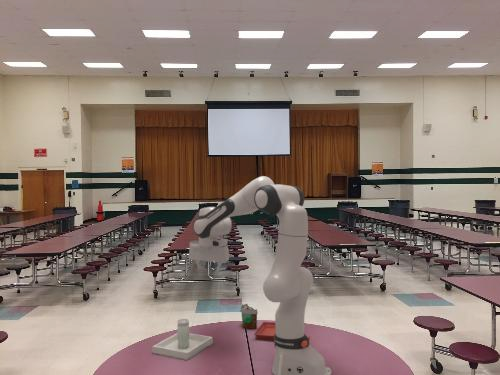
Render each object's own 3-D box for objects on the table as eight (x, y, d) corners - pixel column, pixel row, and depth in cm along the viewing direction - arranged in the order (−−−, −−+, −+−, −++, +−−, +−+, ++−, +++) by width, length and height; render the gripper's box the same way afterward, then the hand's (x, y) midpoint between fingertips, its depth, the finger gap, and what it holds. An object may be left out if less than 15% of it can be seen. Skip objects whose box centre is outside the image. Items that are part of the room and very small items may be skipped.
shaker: (191, 345, 191) (191, 319, 190) (185, 349, 186) (184, 323, 186) (182, 344, 193) (181, 318, 193) (175, 348, 188) (175, 321, 188)
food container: (236, 324, 220) (236, 305, 220) (247, 322, 223) (247, 303, 223) (246, 331, 209) (246, 311, 209) (257, 329, 211) (257, 309, 211)
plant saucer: (253, 340, 198) (253, 333, 198) (263, 327, 215) (263, 321, 215) (292, 344, 193) (292, 337, 193) (299, 330, 210) (299, 324, 210)
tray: (213, 343, 194) (212, 337, 194) (187, 360, 176) (187, 353, 176) (180, 337, 202) (180, 331, 202) (152, 353, 184) (152, 346, 184)
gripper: (185, 241, 204) (186, 270, 204) (223, 243, 195) (224, 273, 195) (193, 239, 209) (193, 267, 209) (230, 241, 200) (230, 270, 200)
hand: (208, 270), depth 202 cm, fingers open, 8 cm apart
